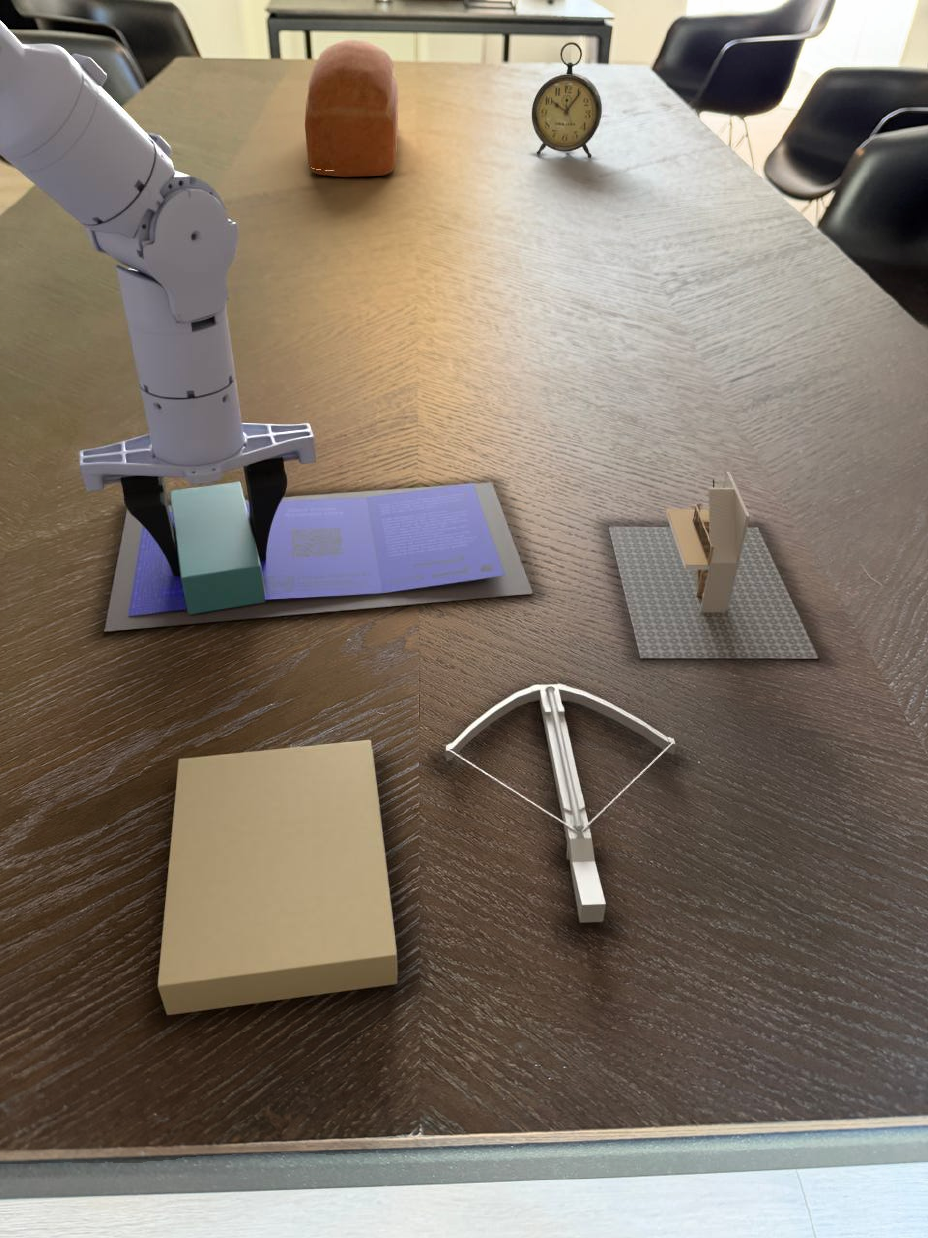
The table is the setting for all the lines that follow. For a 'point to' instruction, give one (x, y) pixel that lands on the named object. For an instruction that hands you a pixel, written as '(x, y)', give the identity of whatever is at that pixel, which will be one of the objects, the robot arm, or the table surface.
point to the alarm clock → (566, 110)
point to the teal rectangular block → (216, 548)
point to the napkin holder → (707, 586)
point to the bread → (352, 111)
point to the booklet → (342, 557)
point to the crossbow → (568, 777)
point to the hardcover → (276, 879)
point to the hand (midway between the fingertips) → (218, 561)
